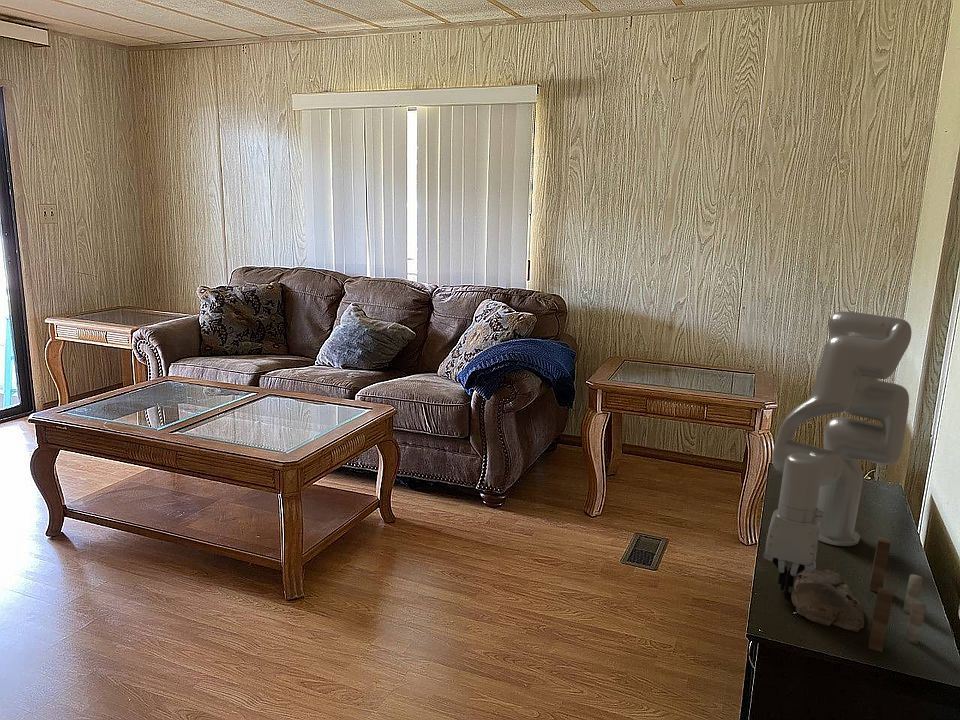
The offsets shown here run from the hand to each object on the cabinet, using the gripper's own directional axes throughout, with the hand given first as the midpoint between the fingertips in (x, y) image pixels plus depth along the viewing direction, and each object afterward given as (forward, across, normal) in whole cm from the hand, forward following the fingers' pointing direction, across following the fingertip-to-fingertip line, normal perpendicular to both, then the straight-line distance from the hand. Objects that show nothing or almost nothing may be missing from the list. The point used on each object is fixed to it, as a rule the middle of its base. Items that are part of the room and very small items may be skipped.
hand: (784, 587), depth 165 cm
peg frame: (+1, -21, 0) cm, 21 cm away
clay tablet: (+2, -8, 0) cm, 8 cm away
